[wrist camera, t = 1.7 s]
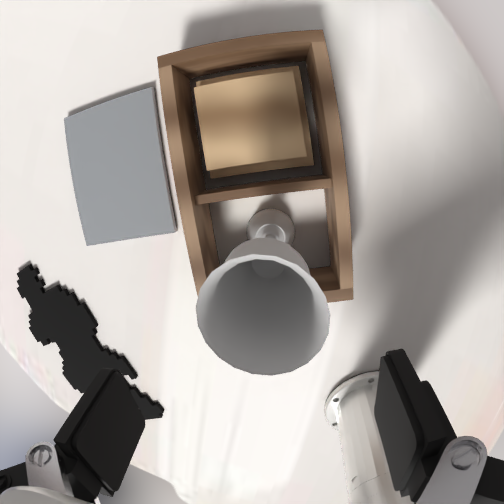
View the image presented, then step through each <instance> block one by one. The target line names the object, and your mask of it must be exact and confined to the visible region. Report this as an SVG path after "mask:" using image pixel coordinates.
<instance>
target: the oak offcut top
mask: <svg viewBox="0 0 504 504" xmlns="http://www.w3.org/2000/svg"><path fill="white" fill-rule="evenodd" d="M194 93H195V100H196V106H197V113H198V119H199V126H200V132H201V138H202V144H203V151H204V157H205V163H206V169H207V171H208V170H214V169H220V168H226V167H232V166H239V165H245V164H252V163H259V162H266V161H273V160H281V159H289V158H298V157H306V149H305V142H304V135H303V128H302V122H301V115H300V109H299V103H298V97H297V91H296V86H295V80H294V75H293V71H289V72H280V73H272V74H264V75H257V76H251V77H245V78H239V79H233V80H227V81H222V82H217V83H212V84H207V85H203V86H198V87H194Z"/></svg>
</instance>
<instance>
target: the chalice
mask: <svg viewBox="0 0 504 504" xmlns="http://www.w3.org/2000/svg"><path fill="white" fill-rule="evenodd" d="M247 237H248V241H244V242H243V243H242V244H240V245H239V246H237V247H236V248H234V249H233V250H232V251H231V253H230V254H229V256H228V257H227V258H226V260H225V262H224V264H223V265H221V266H220V267H218V268H217V269H215V270H214V271H212V272H211V274H210V275H209V276H208V278H207V279H206V281H205V282H204V284H203V285H202V287H201V288H200V291H199V296H198V300H197V304H196V313H197V321H198V327H199V329H200V331H201V333H202V335H203V338H204V340H205V342H206V343H207V344H208V346H209V347H210V348H211V349H212V350H213V351H214V353H215V354H216V355H217V356H218V357H219V358H221V359H222V360H224V361H225V362H227V363H228V364H230V365H231V366H233V367H234V368H237V369H240V370H243V371H246V372H249V373H251V374H261V375H276V374H282V373H287V372H291V371H293V370H295V369H297V368H299V367H301V366H303V365H305V364H307V363H308V362H309V361H310V360H311V359H312V358H313V357H314V356H315V355H316V354H317V353H318V352H319V351H320V350H321V348H322V346H323V344H324V342H325V340H326V338H327V336H328V332H329V323H330V312H329V308H328V304H327V300H326V296H325V295H324V293H323V292H322V290H321V289H320V287H319V285H318V284H317V282H316V281H315V279H314V278H313V277H311V275H310V272H309V268H308V265H307V264H306V262H305V261H304V259H303V258H302V256H301V254H300V253H298V252H297V251H296V250H295V249H294V248H292V247H291V245H292V243H293V240H294V237H295V228H294V225H293V222H292V220H291V219H290V218H289V216H288V215H286V214H285V213H284V212H282V211H280V210H277V209H264V210H261V211H259V212H258V213H256V214H255V215H253V217H252V218H251V219H250V221H249V223H248V226H247Z"/></svg>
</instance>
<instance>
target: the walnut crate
mask: <svg viewBox="0 0 504 504" xmlns="http://www.w3.org/2000/svg"><path fill="white" fill-rule="evenodd" d="M157 60H158V69H159V78H160V86H161V94H162V102H163V110H164V117H165V124H166V131H167V138H168V144H169V151H170V157H171V163H172V169H173V175H174V181H175V187H176V192H177V198H178V203H179V209H180V214H181V219H182V225H183V230H184V235H185V240H186V245H187V249H188V254H189V259H190V264H191V268H192V273H193V277H194V282H195V286H196V291H197V295H198V296H199V291H200V288H201V287H202V285H203V284H204V282H205V281H206V279H207V278H208V276H209V275H210V274H211V272H212V271H214V270H215V269H217V268H218V267H220V264H219V259H218V253H217V248H216V243H215V237H214V231H213V226H212V220H211V214H210V209H209V203H212V202H219V201H226V200H233V199H240V198H247V197H255V196H263V195H271V194H279V193H287V192H296V191H305V190H315V189H324V192H325V202H326V213H327V224H328V236H329V250H330V265H331V266H329V267H320V268H312V269H309V272H310V275H311V277H313V278H314V279H315V281H316V282H317V284H318V285H319V287H320V289H321V290H322V292H323V293H324V295H325V296H326V300H327V303H329V302H337V301H345V300H352V299H353V264H352V241H351V224H350V209H349V197H348V186H347V176H346V166H345V157H344V149H343V141H342V133H341V126H340V119H339V113H338V106H337V100H336V94H335V88H334V82H333V77H332V72H331V66H330V61H329V56H328V52H327V47H326V42H325V38H324V33H323V30H307V31H293V32H281V33H272V34H264V35H256V36H249V37H243V38H237V39H231V40H225V41H220V42H215V43H210V44H205V45H201V46H197V47H192V48H188V49H184V50H180V51H176V52H173V53H169V54H165V55H162V56H159V57H157ZM302 61H305V62H306V67H307V72H308V78H309V84H310V89H311V95H312V101H313V108H314V114H315V121H316V128H317V135H318V142H319V149H320V157H321V165H322V174H323V175H313V176H304V177H295V178H286V179H278V180H270V181H262V182H254V183H247V184H240V185H233V186H226V187H219V188H213V189H207V190H206V185H205V179H204V173H203V167H202V160H201V154H200V147H199V141H198V134H197V128H196V121H195V114H194V107H193V100H192V93H191V86H190V79H192V78H196V77H201V76H206V75H210V74H215V73H221V72H226V71H231V70H237V69H243V68H250V67H257V66H264V65H272V64H281V63H291V62H302Z"/></svg>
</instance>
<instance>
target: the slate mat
mask: <svg viewBox="0 0 504 504" xmlns="http://www.w3.org/2000/svg"><path fill="white" fill-rule="evenodd" d="M64 123H65V132H66V141H67V148H68V156H69V162H70V169H71V175H72V180H73V186H74V191H75V196H76V201H77V206H78V211H79V216H80V220H81V224H82V229H83V233H84V237H85V241H86V245H87V246H89V245H96V244H102V243H108V242H114V241H121V240H127V239H134V238H140V237H147V236H154V235H161V234H168V233H175V232H176V231H177V227H176V222H175V216H174V211H173V206H172V201H171V195H170V190H169V184H168V178H167V172H166V167H165V160H164V154H163V148H162V141H161V135H160V128H159V121H158V113H157V106H156V98H155V90H154V88H153V87H149V88H146V89H143V90H139V91H136V92H133V93H130V94H127V95H124V96H121V97H118V98H115V99H112V100H109V101H107V102H104V103H101V104H98V105H96V106H93V107H91V108H88V109H85V110H83V111H80V112H78V113H76V114H73V115H71V116H68V117H66V118H64Z"/></svg>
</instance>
